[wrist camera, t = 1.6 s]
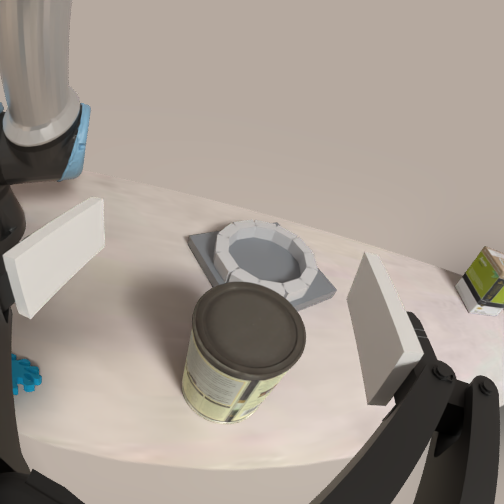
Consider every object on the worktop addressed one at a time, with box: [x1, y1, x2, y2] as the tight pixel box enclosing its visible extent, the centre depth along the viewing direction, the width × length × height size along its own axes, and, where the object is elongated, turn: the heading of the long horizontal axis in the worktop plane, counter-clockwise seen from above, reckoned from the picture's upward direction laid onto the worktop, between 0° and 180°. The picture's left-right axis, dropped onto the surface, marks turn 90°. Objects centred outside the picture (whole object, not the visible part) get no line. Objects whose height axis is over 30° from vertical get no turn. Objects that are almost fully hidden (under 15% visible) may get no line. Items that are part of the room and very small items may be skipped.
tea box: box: [455, 246, 504, 316], centre depth 61 cm, size 15×10×15 cm, turn 90°
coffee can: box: [182, 282, 306, 424], centre depth 31 cm, size 10×10×14 cm
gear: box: [11, 353, 42, 395], centre depth 23 cm, size 11×6×10 cm
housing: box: [188, 220, 337, 311], centre depth 51 cm, size 19×19×4 cm
